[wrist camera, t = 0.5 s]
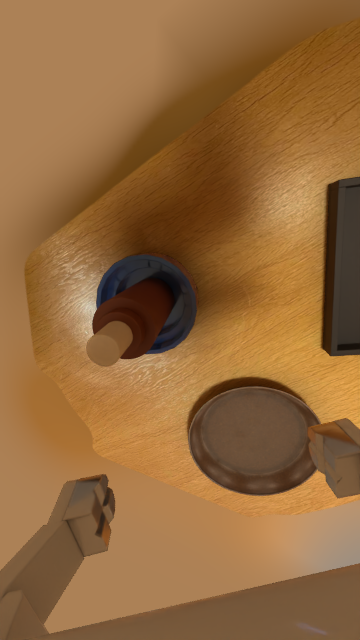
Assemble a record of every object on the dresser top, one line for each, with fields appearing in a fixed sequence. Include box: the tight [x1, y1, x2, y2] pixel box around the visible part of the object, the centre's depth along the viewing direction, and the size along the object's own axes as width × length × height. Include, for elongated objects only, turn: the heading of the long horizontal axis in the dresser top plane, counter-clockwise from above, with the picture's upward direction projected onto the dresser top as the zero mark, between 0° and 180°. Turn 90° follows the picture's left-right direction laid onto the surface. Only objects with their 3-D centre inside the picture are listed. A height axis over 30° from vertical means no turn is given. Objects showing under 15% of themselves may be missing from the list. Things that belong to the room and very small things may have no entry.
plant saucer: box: [188, 386, 321, 496], centre depth 41 cm, size 21×21×3 cm
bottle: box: [86, 278, 175, 366], centre depth 29 cm, size 6×6×18 cm
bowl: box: [96, 253, 199, 354], centre depth 36 cm, size 13×13×5 cm
